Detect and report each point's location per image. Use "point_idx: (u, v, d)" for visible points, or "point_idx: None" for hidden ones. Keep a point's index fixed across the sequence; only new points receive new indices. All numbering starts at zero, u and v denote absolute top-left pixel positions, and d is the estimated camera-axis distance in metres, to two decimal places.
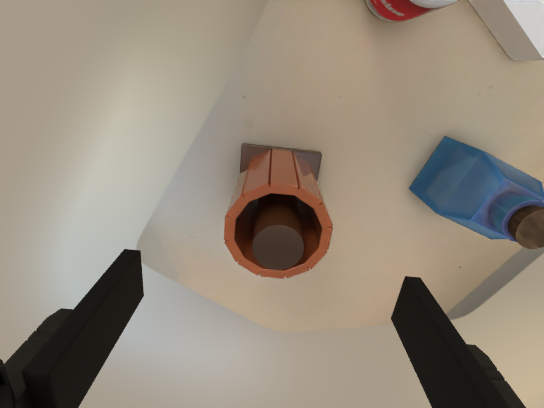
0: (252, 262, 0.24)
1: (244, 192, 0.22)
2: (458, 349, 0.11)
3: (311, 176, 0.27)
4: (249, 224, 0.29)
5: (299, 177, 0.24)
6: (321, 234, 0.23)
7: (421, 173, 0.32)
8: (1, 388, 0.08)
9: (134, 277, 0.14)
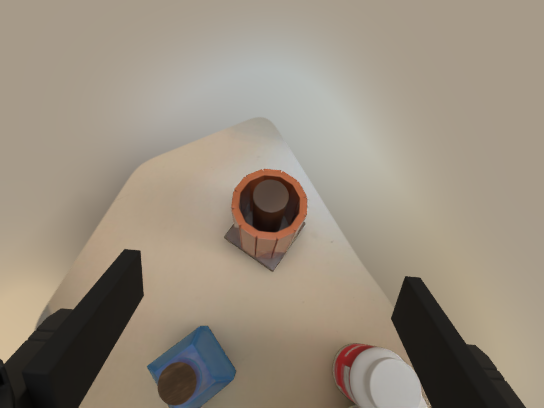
0: (257, 177, 0.34)
1: (306, 199, 0.33)
2: (458, 349, 0.11)
3: (276, 249, 0.36)
4: None
5: (291, 237, 0.34)
6: (254, 228, 0.32)
7: (216, 340, 0.37)
8: (1, 388, 0.08)
9: (134, 277, 0.14)
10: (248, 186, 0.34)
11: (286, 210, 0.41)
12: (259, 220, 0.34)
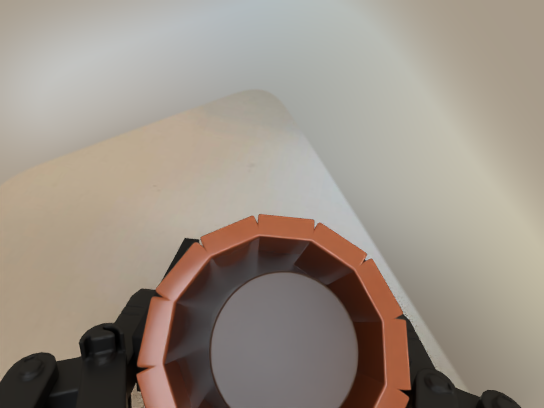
0: (238, 244, 0.10)
1: (405, 324, 0.10)
2: None
3: None
4: (258, 265, 0.15)
5: None
6: None
7: None
8: (119, 352, 0.10)
9: None
10: (209, 269, 0.11)
11: None
12: None
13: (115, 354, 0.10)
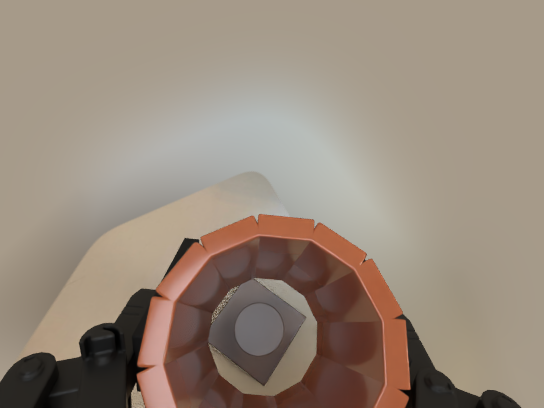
0: (238, 244, 0.10)
1: (404, 323, 0.10)
2: None
3: None
4: (258, 265, 0.15)
5: None
6: None
7: None
8: (119, 352, 0.10)
9: None
10: (209, 269, 0.11)
11: (314, 297, 0.17)
12: None
13: (115, 354, 0.10)
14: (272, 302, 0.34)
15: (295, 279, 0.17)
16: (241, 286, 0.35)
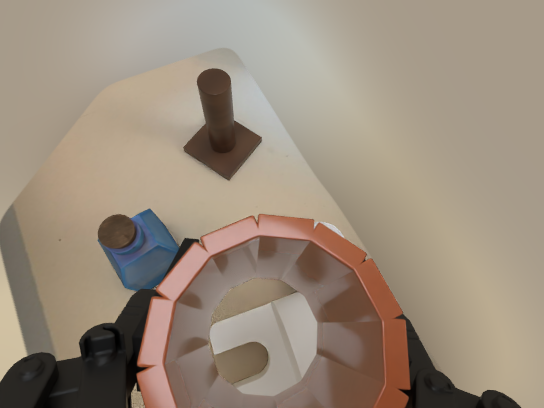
0: (238, 244, 0.10)
1: (404, 323, 0.10)
2: None
3: None
4: (258, 265, 0.15)
5: None
6: None
7: (171, 236, 0.40)
8: (119, 352, 0.10)
9: None
10: (209, 269, 0.11)
11: (314, 297, 0.17)
12: (207, 113, 0.36)
13: (115, 354, 0.10)
14: (236, 127, 0.45)
15: (295, 279, 0.17)
16: None
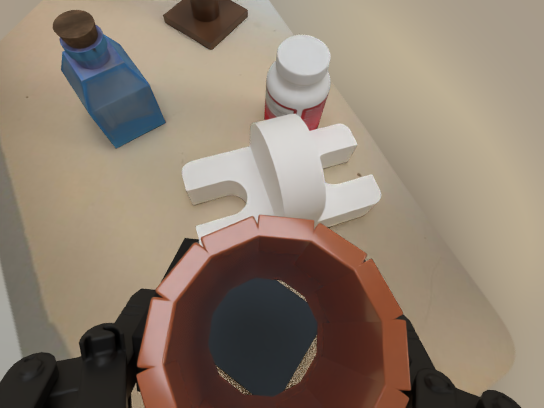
0: (238, 245, 0.10)
1: (405, 324, 0.10)
2: None
3: None
4: (258, 265, 0.15)
5: None
6: None
7: None
8: (119, 352, 0.10)
9: None
10: (209, 269, 0.11)
11: (314, 297, 0.17)
12: None
13: (115, 354, 0.10)
14: (220, 0, 0.43)
15: (295, 279, 0.17)
16: None
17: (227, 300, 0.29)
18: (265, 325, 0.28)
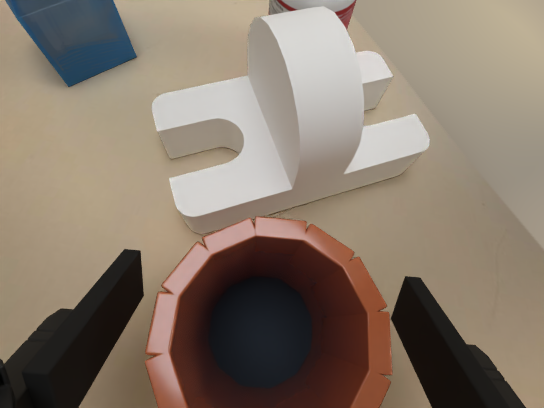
0: (237, 244, 0.11)
1: (388, 315, 0.11)
2: (458, 349, 0.11)
3: None
4: (256, 264, 0.16)
5: None
6: None
7: None
8: (1, 388, 0.08)
9: (134, 277, 0.14)
10: (210, 266, 0.12)
11: (308, 294, 0.18)
12: None
13: None
14: None
15: (291, 277, 0.18)
16: None
17: None
18: (269, 321, 0.20)
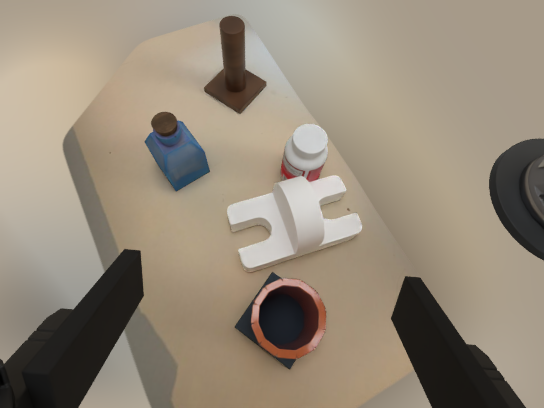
0: (276, 288, 0.34)
1: (325, 311, 0.34)
2: (458, 349, 0.11)
3: None
4: (279, 290, 0.39)
5: None
6: (274, 346, 0.32)
7: None
8: (1, 388, 0.08)
9: (134, 277, 0.14)
10: None
11: (302, 302, 0.41)
12: (226, 52, 0.48)
13: None
14: (246, 74, 0.57)
15: (294, 295, 0.41)
16: None
17: None
18: (284, 315, 0.43)
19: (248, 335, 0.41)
